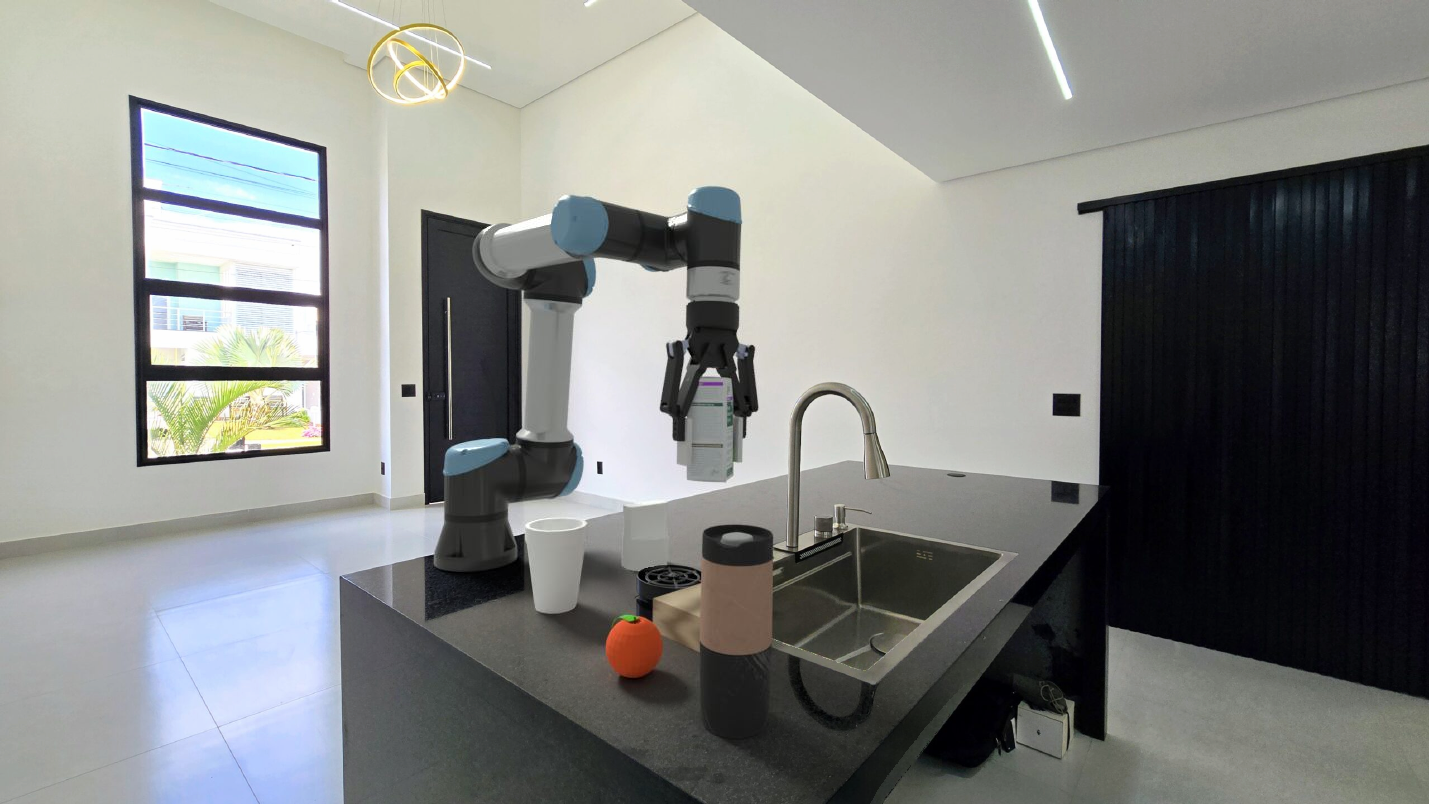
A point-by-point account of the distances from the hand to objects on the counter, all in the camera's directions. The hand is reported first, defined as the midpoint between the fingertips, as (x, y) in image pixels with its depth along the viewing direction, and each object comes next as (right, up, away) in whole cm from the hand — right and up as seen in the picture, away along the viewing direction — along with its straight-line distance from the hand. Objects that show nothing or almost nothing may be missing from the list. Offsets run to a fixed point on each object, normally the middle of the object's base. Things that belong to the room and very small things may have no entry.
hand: (709, 462), depth 86 cm
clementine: (-10, -25, -12) cm, 29 cm away
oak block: (-1, -25, +1) cm, 25 cm away
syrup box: (0, -2, 0) cm, 2 cm away
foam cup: (-24, -24, +9) cm, 35 cm away
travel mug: (+3, -25, -22) cm, 33 cm away
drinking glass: (-13, -23, +32) cm, 41 cm away
